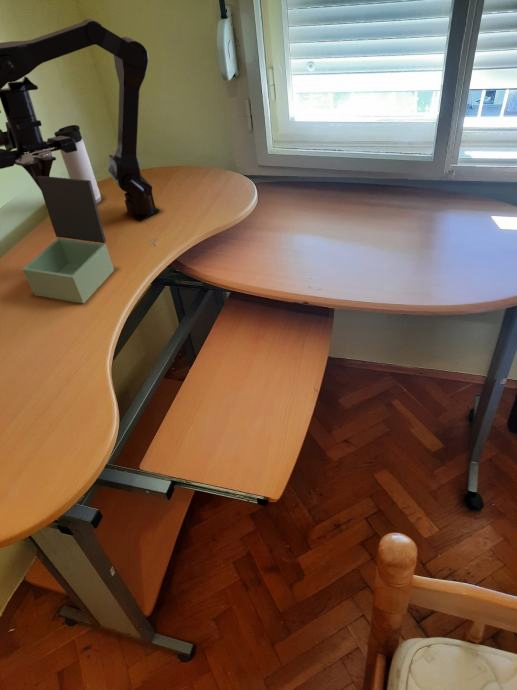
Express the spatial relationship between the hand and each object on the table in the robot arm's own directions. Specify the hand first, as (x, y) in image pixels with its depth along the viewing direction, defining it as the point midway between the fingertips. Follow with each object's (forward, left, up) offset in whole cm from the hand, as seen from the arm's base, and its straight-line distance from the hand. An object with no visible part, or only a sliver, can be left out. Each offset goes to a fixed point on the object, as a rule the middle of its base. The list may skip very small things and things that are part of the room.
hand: (44, 191), depth 105 cm
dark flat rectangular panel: (+1, +15, 0) cm, 15 cm away
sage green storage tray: (+7, +18, -13) cm, 23 cm away
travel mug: (-16, -14, -13) cm, 25 cm away
